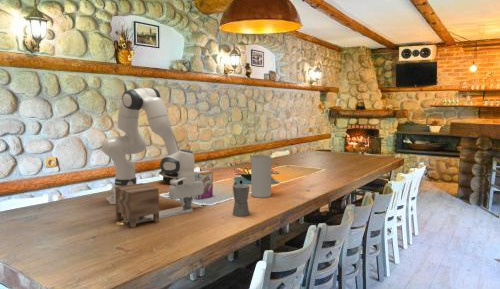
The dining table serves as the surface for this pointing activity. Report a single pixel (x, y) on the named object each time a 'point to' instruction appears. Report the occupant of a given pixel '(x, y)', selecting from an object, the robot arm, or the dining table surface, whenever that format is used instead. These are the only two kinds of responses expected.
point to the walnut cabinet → (137, 202)
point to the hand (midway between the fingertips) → (186, 204)
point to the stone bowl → (168, 176)
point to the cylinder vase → (261, 176)
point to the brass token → (122, 223)
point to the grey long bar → (166, 212)
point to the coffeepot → (240, 199)
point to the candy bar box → (205, 184)
